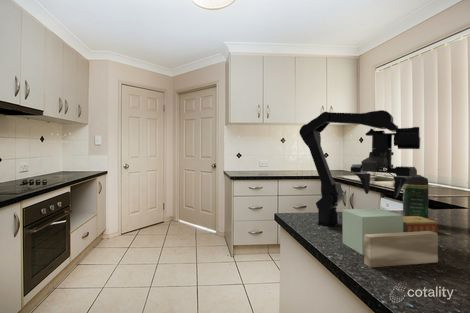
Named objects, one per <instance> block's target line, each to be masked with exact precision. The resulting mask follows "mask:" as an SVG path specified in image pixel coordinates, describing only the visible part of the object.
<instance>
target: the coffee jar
mask: <svg viewBox="0 0 470 313" xmlns="http://www.w3.org/2000/svg"><path fill="white" fill-rule="evenodd" d="M411 177H412V178H411V179H408V180H407V181H406V183H405V184H404V186H403V187H402V215H403V216H420V217H424V218H427V219H429V196H430V194H429V179H428V178H427V177H425V176H423V175H421V174H417V176H411Z"/></svg>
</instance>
